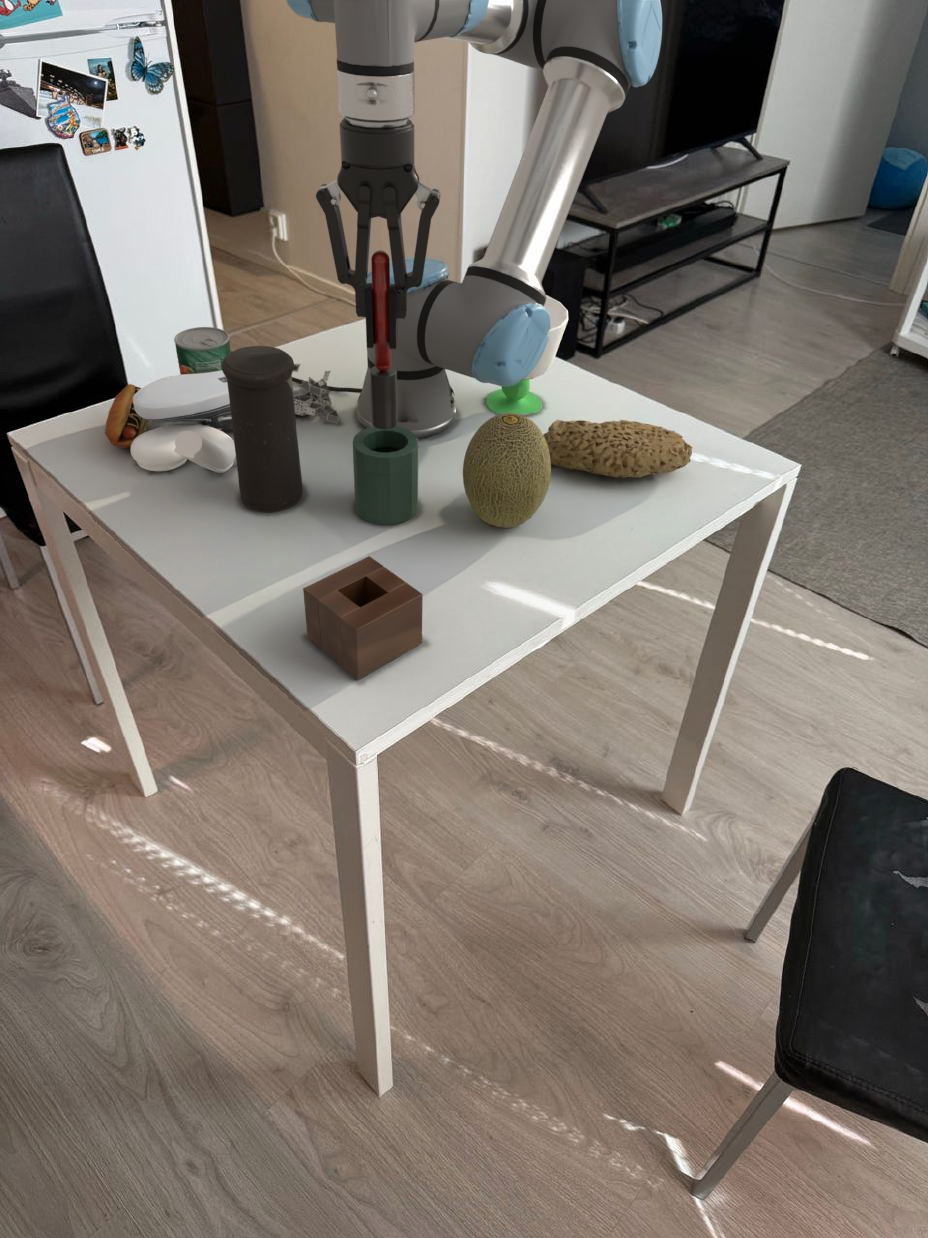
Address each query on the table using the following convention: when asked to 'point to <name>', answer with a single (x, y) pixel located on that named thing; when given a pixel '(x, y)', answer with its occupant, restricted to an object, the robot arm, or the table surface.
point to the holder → (363, 616)
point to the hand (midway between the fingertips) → (382, 342)
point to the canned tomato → (201, 349)
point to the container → (264, 427)
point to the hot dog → (124, 419)
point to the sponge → (616, 448)
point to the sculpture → (184, 448)
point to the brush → (382, 348)
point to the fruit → (507, 470)
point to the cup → (518, 394)
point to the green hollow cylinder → (385, 475)
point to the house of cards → (314, 398)
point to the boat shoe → (187, 400)
